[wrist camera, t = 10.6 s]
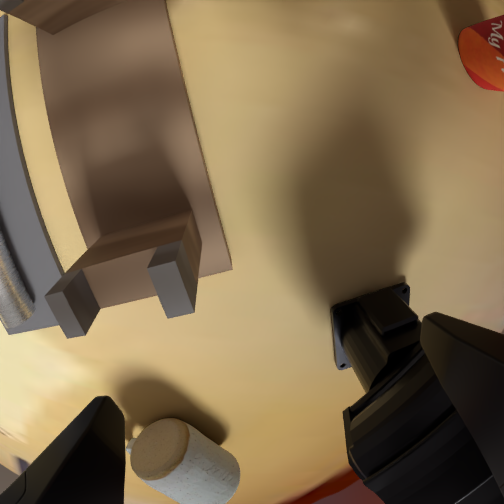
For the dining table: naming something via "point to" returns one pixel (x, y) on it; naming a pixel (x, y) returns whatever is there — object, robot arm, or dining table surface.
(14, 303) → the steel rod
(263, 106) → the dining table surface
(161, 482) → the ceramic mug
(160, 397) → the dining table surface
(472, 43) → the paper cup
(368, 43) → the dining table surface
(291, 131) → the dining table surface
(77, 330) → the hook stand
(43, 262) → the grey flat tapered piece
